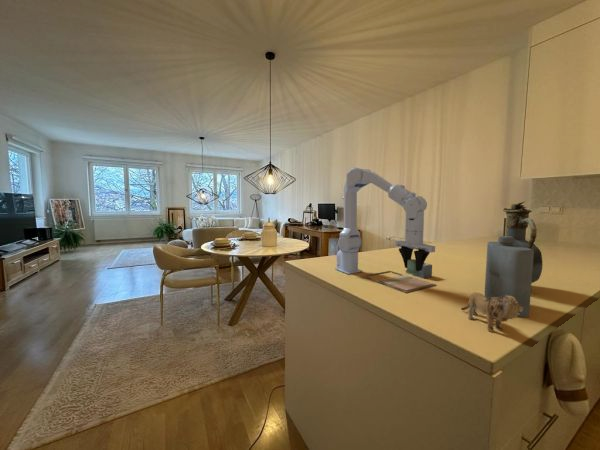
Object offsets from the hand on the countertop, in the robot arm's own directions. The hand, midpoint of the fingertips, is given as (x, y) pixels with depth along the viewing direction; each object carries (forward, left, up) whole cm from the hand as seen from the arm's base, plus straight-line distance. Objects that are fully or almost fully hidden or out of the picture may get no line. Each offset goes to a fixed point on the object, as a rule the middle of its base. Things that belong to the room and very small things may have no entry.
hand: (413, 269), depth 87 cm
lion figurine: (+27, -8, -6) cm, 29 cm away
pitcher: (+19, +28, -6) cm, 34 cm away
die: (-6, +14, -6) cm, 17 cm away
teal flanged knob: (0, 0, -1) cm, 1 cm away
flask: (+24, +8, -6) cm, 26 cm away
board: (-6, 0, -6) cm, 9 cm away
